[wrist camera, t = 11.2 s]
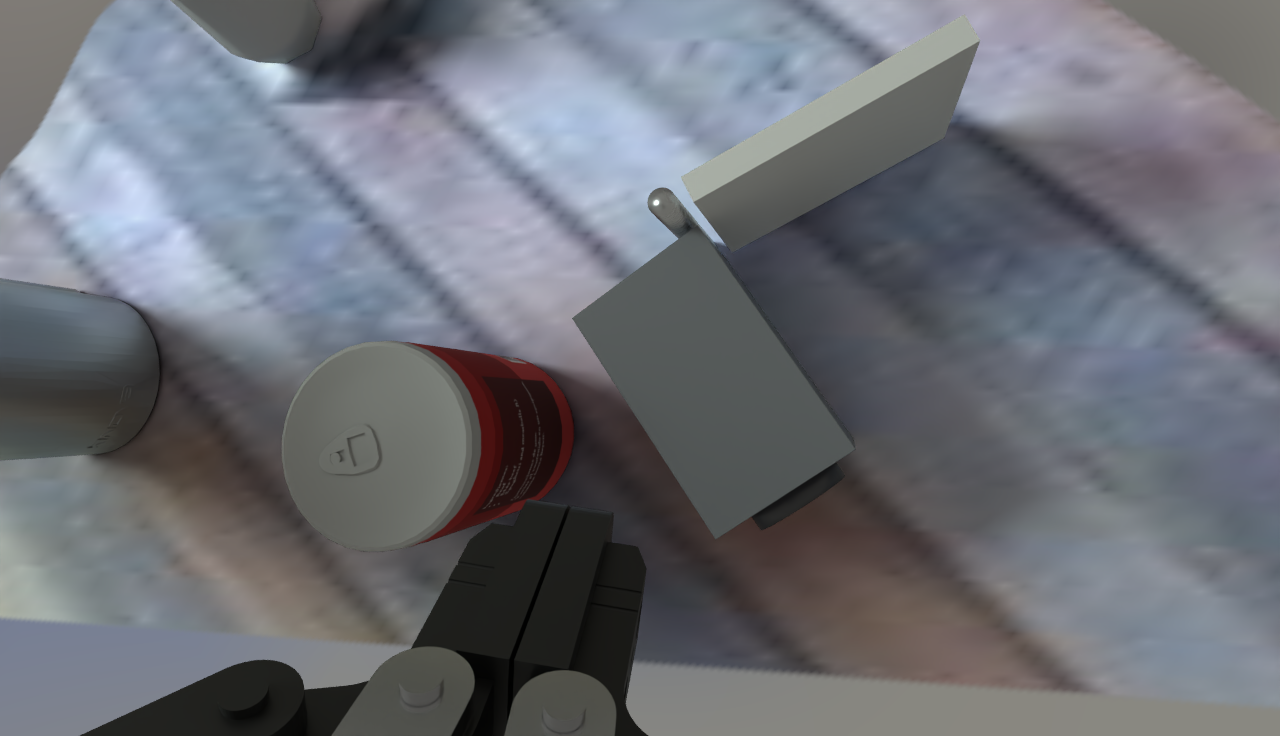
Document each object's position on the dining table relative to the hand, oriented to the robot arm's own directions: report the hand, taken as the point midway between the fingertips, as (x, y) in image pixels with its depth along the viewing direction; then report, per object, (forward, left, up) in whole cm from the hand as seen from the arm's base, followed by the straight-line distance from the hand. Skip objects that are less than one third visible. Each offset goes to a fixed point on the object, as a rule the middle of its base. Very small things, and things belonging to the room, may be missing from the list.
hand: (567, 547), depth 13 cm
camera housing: (-2, +3, -22) cm, 23 cm away
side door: (-4, +12, -22) cm, 26 cm away
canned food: (-10, -6, -23) cm, 26 cm away
